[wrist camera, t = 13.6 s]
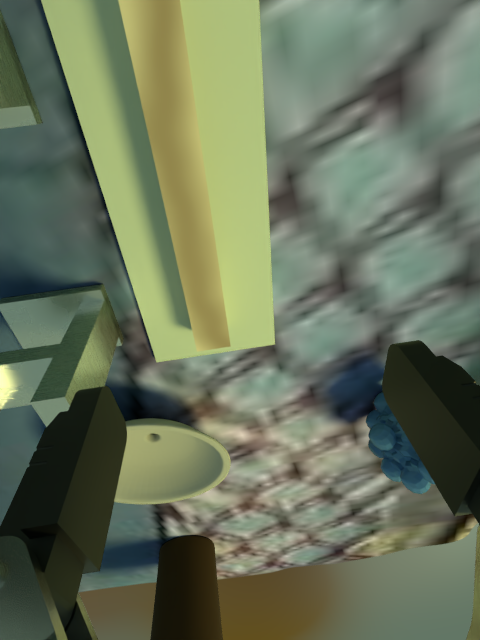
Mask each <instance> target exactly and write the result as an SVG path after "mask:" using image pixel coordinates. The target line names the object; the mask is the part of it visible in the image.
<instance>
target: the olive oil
mask: <svg viewBox="0 0 480 640" xmlns="http://www.w3.org/2000/svg"><path fill="white" fill-rule="evenodd" d="M151 640H223V637H222V628H221V617H220V606H219V595H218V584H217V572H216V559H215V547H214V543H213V542H212V541H211V540H210V539H208V538H205V537H201V536H184V537H179V538H175V539H172V540H170V541H168V542H166V543H165V544H164V545H163V546H162V547H161V549H160V553H159V564H158V575H157V584H156V595H155V604H154V613H153V622H152V631H151Z"/></svg>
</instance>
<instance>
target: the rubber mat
mask: <svg viewBox="0 0 480 640" xmlns="http://www.w3.org/2000/svg"><path fill="white" fill-rule="evenodd" d="M41 2H42V5H43V8H44V11H45V14H46V17H47V21H48V24H49V27H50V30H51V33H52V36H53V39H54V42H55V46H56V49H57V52H58V55H59V58H60V61H61V64H62V68H63V71H64V74H65V77H66V80H67V83H68V86H69V89H70V93H71V96H72V99H73V102H74V105H75V108H76V111H77V115H78V118H79V121H80V124H81V127H82V130H83V133H84V136H85V140H86V143H87V146H88V149H89V152H90V155H91V158H92V161H93V165H94V168H95V171H96V174H97V177H98V180H99V183H100V187H101V190H102V193H103V196H104V199H105V202H106V205H107V208H108V212H109V215H110V218H111V221H112V224H113V227H114V230H115V234H116V237H117V240H118V243H119V246H120V249H121V252H122V255H123V259H124V262H125V265H126V268H127V271H128V274H129V277H130V280H131V284H132V287H133V290H134V293H135V296H136V299H137V302H138V306H139V309H140V312H141V315H142V318H143V321H144V324H145V327H146V331H147V334H148V337H149V340H150V343H151V346H152V349H153V353H154V356H155V359H156V362H162V361H169V360H175V359H182V358H188V357H195V356H201V355H208V354H214V353H221V352H228V351H234V350H241V349H247V348H254V347H260V346H267V345H273V344H275V337H274V315H273V293H272V272H271V250H270V229H269V207H268V185H267V164H266V142H265V121H264V99H263V78H262V56H261V34H260V13H259V0H180V5H181V11H182V18H183V25H184V32H185V39H186V46H187V52H188V59H189V66H190V73H191V80H192V86H193V93H194V100H195V107H196V114H197V120H198V127H199V134H200V141H201V148H202V154H203V161H204V168H205V175H206V182H207V188H208V195H209V202H210V209H211V216H212V222H213V229H214V236H215V243H216V250H217V256H218V263H219V270H220V277H221V284H222V291H223V297H224V304H225V311H226V318H227V325H228V331H229V338H230V345H231V347H224V348H218V349H211V350H205V351H198V352H197V349H196V345H195V341H194V336H193V332H192V327H191V323H190V318H189V314H188V309H187V305H186V300H185V296H184V291H183V287H182V283H181V278H180V274H179V269H178V265H177V260H176V256H175V251H174V247H173V242H172V238H171V233H170V229H169V225H168V220H167V216H166V211H165V207H164V202H163V198H162V193H161V189H160V184H159V180H158V175H157V171H156V167H155V162H154V158H153V153H152V149H151V144H150V140H149V135H148V131H147V126H146V122H145V117H144V113H143V109H142V104H141V100H140V95H139V91H138V86H137V82H136V77H135V73H134V68H133V64H132V59H131V55H130V51H129V46H128V42H127V37H126V33H125V28H124V24H123V19H122V15H121V10H120V6H119V1H118V0H41Z"/></svg>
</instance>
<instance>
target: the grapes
mask: <svg viewBox="0 0 480 640" xmlns="http://www.w3.org/2000/svg"><path fill="white" fill-rule="evenodd" d="M374 405H375V407H376V409H377V410H373V411H371V412H370V413H369V414H368V416H367V418H366V423H367V425H368V427H369V428H370V432H369V438H370V440H369V444H368V446H369V448H370V450H371V451H372V452H373V454H374V455H376V456H377V457H379V458H384V459H383V460H382V463H381V469H382V471H383V473H384V474H385V475H386V476H387V477H388V478H389V479H391V480H392V481H396V482H401V481H402V483H403V484H404V485H405V487H406V488H407V489H409V490H410V491H412V492H413V493H418V494H422V493H425V492H427V491H428V489H429V488H430V486H431V483H432V484H435V483H434V481H433V479H432V478H431V476H430V474H429V473H428V471H427V469H426V468H425V466H424V464H423V463H422V461H421V459H420V458H419V456H418V454H417V453H416V451H415V449H414V448H413V446H412V444H411V443H410V441H409V439H408V438H407V436H406V434H405V433H404V431H403V429H402V428H401V426H400V424H399V423H398V421H397V419H396V418H395V416H394V414H393V413H392V411H391V409H390V408H389V406H388V404H387V402H386V400H385V398H384V394H383V392H381V393H380V394H378V395H377V396H376V398H375V400H374Z"/></svg>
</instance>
